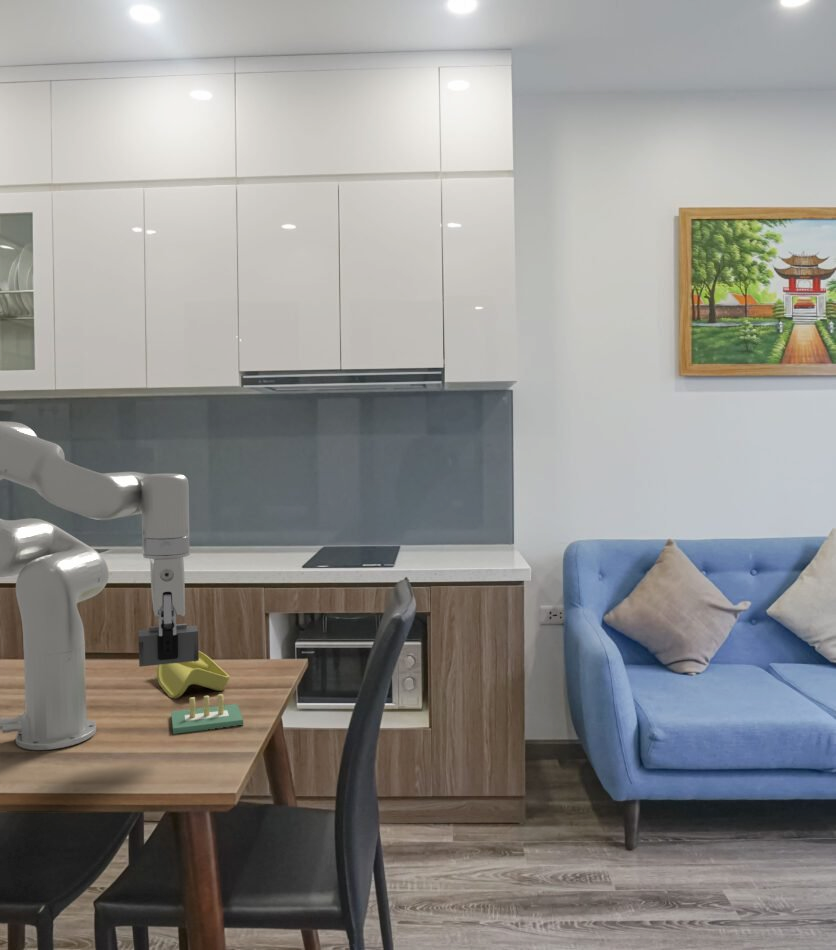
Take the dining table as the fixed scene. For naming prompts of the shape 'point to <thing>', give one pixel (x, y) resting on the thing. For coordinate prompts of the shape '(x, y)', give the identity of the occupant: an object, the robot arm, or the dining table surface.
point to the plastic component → (191, 676)
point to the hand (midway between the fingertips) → (167, 653)
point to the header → (206, 716)
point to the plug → (185, 645)
